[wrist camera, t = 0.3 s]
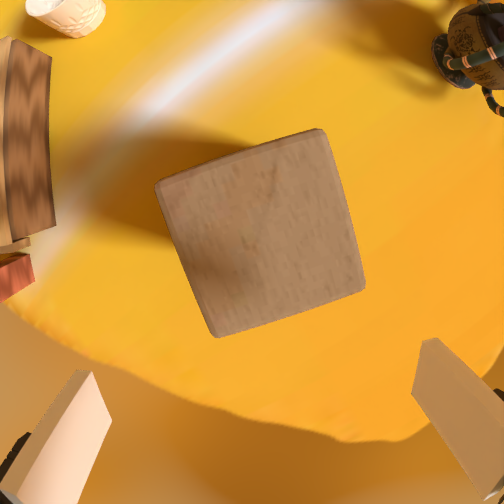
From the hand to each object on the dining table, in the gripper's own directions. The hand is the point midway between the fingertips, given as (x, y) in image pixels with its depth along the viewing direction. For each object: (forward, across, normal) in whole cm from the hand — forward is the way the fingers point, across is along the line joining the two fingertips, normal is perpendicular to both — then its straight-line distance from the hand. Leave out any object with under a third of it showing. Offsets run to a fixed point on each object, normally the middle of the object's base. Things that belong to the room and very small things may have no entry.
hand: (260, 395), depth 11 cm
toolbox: (+27, -33, +17) cm, 46 cm away
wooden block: (+28, +1, +4) cm, 28 cm away
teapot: (+28, +34, +28) cm, 52 cm away
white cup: (+28, -20, +34) cm, 48 cm away
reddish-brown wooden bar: (+27, -33, -1) cm, 43 cm away
